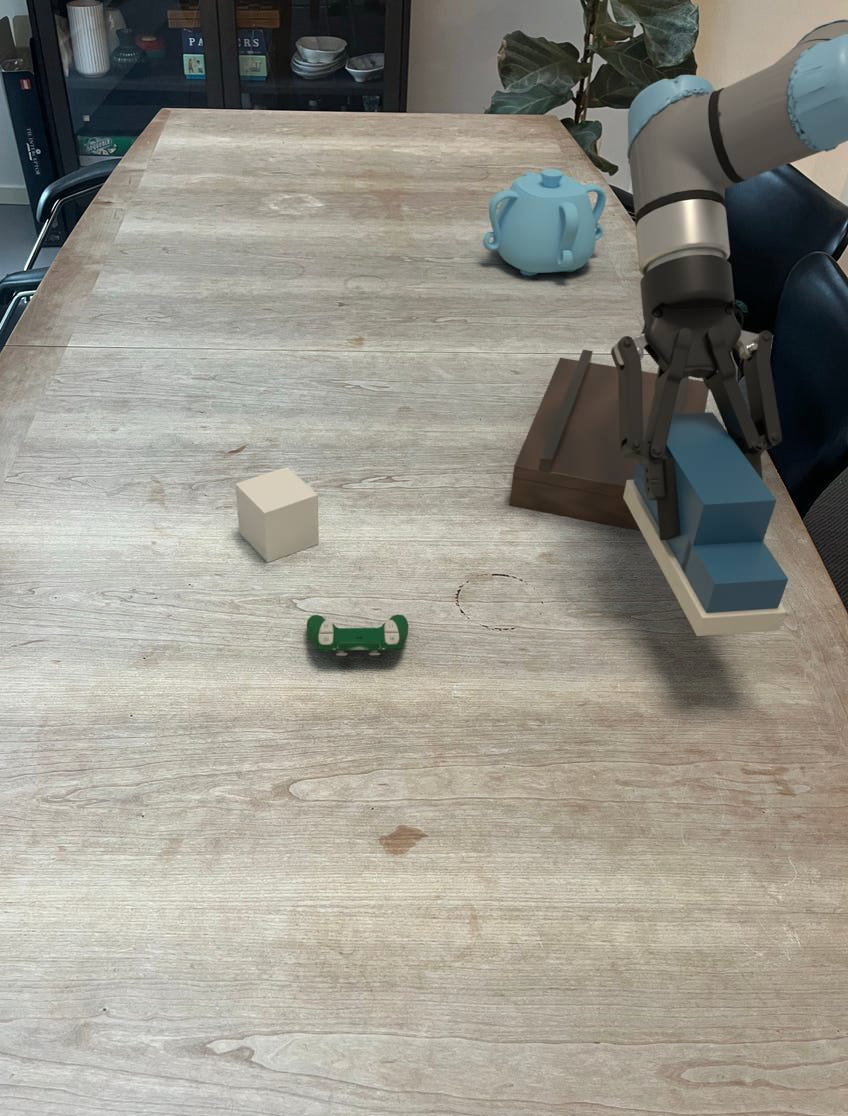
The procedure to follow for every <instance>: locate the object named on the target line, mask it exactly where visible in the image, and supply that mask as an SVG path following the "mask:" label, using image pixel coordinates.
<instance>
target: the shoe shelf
mask: <svg viewBox="0 0 848 1116" xmlns="http://www.w3.org/2000/svg"><path fill="white" fill-rule="evenodd" d="M593 353H594V352H593V350H589V349H582V351H581V354H580V356H579V359H578V360H577V359H571V358H565V357H559V359H558V362H557V364H556V366H555V367H554V370H553V373H552V375H551V378H550V380H549V382H548V385H547V387H546V390H545V392H544V395H543V397H542V399H541V401H540V404H539V406H538V409H537V411H536V413H535V416H534V418H533V420H532V422H531V425H530V427H529V430H528V432H527V434H526V437H525V440H524V441H523V444H522V446H521V448H520V451H519V454H518V455H517V458H516V461H515V463H514V466H513V471H512V472H513V474H512V481H511V487H510V496H509V503H508V505H509V506H513V507H518V508H522V509H523V508H524V509H528V510H533V511H538V512H542V513H543V512H544V513H547V514H553V515H558V516H562V517H568V518H574V519H578V520H582V521H588V522H593V523H599V524H604V525H608V526H613V527H619V528H624V529H628V530H633V531H639V532H641V530H640V528H639V526H638V524H637V522H636V521H635V519H634V517H633V515H632V513H631V511H630V509H629V507H628V506H627V504H626V502H625V500H624V498H623V496H624V491H625V486H626V482H627V480H634V478H635V473H636V469H637V464H638V460H636V459H633V458H624V457H622V456H621V454H620V440H619V389H618V371H617V368H616V366H614V365H608V364H601V363H595V362H592V358H593ZM656 377H657V373H656V372H650V371H645V370H644V371H643V370H642V408H643V436H644V432H645V427H646V423H647V418H648V415H650V412H651V407H652V403H653V398H654V394H655V381H656ZM689 377H690V376H689ZM689 377H685V378H682V380H681V382H680V384H679V389H678V393H677V398H676V402H675V407H674V411H673V414H688V413H706V409H707V404H708V397H709V391H710V389H708V388H707V387H706V386H705V383H704V381H703V380H700V379H699V380H698V379H693V378H689Z"/></svg>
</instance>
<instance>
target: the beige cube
mask: <svg viewBox="0 0 848 1116" xmlns="http://www.w3.org/2000/svg"><path fill="white" fill-rule="evenodd" d="M234 486H235V496H236V497H235V499H236V509H237V511H236V512H237V521H238V533H239V534H240V535H241V536H242V537H243V539H244V540H245V541H246V542H247V543H248V544H249V545H250V546H251V547H252V548H253V549H254V550H255V552H257V554H259V556H260V557H261V558H262V559H263V560H264V561H265V562H266V563H271V562H273V561H277V560H279V559H282V558H284V557H287V556H291V555H292V554H295V553H298V552H301V551H303V550H306V549H308V548H312V547H315V546H317V545H319V543H320V541H319V540H320V539H319V538H320V536H319V532H320V531H319V529H320V528H319V494H318V493H317V492H316V491H314V489H312V488H311V487H310V486H309V485H308V484H307V483H306V481H304V480H303V479H302V478H300V477H299V476H298V475H297V474H296V473H295V472H294V471H293V470H292V469H291V468H290V467H289V466H285V467H281V468H280V469H277V470H273V471H270V472H267V473H264V474H261V475H257V476H255V477H252V478H249V479H246V480H242V481H239V482H236V483H235V485H234Z"/></svg>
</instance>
